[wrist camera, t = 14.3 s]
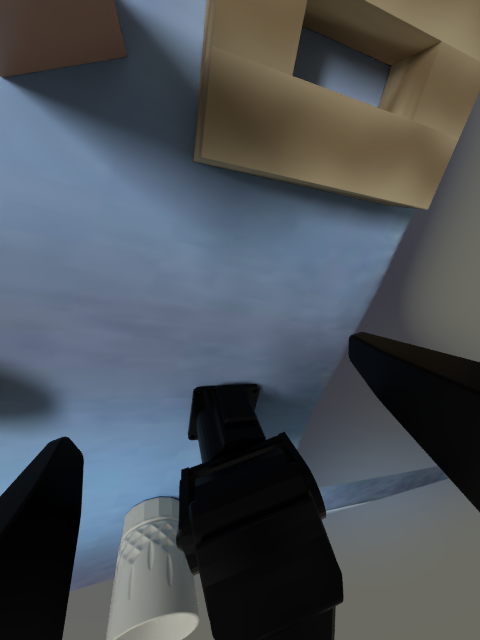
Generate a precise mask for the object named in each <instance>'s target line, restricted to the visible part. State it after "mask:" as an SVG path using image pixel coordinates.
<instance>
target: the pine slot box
mask: <svg viewBox="0 0 480 640" xmlns="http://www.w3.org/2000/svg"><path fill="white" fill-rule="evenodd" d="M302 26H304V27H306V28H308V29H311V30H313V31H315V32H317V33H319V34H322V35H324V36H326V37H328V38H331V39H333V40H335V41H337V42H340V43H342V44H344V45H346V46H348V47H351V48H353V49H355V50H357V51H360V52H362V53H364V54H366V55H368V56H371V57H373V58H375V59H377V60H380V61H382V62H384V63H386V64H389V65H391V70H390V73H389V76H388V79H387V82H386V85H385V88H384V92H383V95H382V98H381V101H380V104H379V107H378V108H377V107H374V106H372V105H369V104H366V103H364V102H361V101H358V100H356V99H353V98H350V97H348V96H345V95H342V94H340V93H337V92H334V91H332V90H329V89H326V88H324V87H321V86H318V85H316V84H313V83H310V82H308V81H305V80H302V79H300V78H297V77H294V76H292V75H293V70H294V65H295V60H296V55H297V50H298V45H299V40H300V34H301V29H302ZM479 91H480V0H207V3H206V15H205V27H204V38H203V50H202V62H201V74H200V86H199V97H198V109H197V121H196V133H195V145H194V157H193V162H198V163H202V164H207V165H211V166H215V167H220V168H224V169H229V170H233V171H238V172H242V173H247V174H251V175H256V176H260V177H264V178H269V179H273V180H278V181H282V182H287V183H291V184H296V185H300V186H305V187H309V188H313V189H318V190H322V191H327V192H331V193H336V194H340V195H345V196H349V197H353V198H358V199H362V200H367V201H371V202H376V203H380V204H385V205H389V206H398V207H407V208H417V209H427V210H428V208H429V206H430V203H431V201H432V199H433V197H434V194H435V192H436V190H437V187H438V185H439V183H440V180H441V178H442V176H443V174H444V171H445V169H446V167H447V165H448V162H449V160H450V158H451V155H452V153H453V151H454V149H455V146H456V144H457V142H458V139H459V137H460V135H461V133H462V130H463V128H464V126H465V123H466V121H467V119H468V117H469V114H470V112H471V110H472V108H473V105H474V103H475V101H476V98H477V96H478V93H479Z"/></svg>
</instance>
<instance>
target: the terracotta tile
mask: <svg viewBox="0 0 480 640" xmlns="http://www.w3.org/2000/svg"><path fill="white" fill-rule="evenodd" d="M122 57H127V54H126V50H125V45H124V41H123V37H122V32H121V28H120V23H119V19H118V15H117V10H116V6H115V2H114V0H0V76H1V77H8V76H14V75H20V74H26V73H32V72H38V71H44V70H50V69H56V68H62V67H68V66H74V65H80V64H86V63H92V62H98V61H104V60H110V59H116V58H122Z"/></svg>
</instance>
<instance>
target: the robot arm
mask: <svg viewBox="0 0 480 640" xmlns="http://www.w3.org/2000/svg"><path fill="white" fill-rule="evenodd" d="M349 358H350V361H351V362H352V364H353V365H354V366H355V368H356V369H357V370H358V372H359V373H360V375H361V376H362V377H363V379H364V380H365V382H366V383H367V384H368V386H369V387H370V388H371V390H372V391H373V393H374V394H375V395H376V396H377V398H378V399H379V400H380V401H381V402H382V404H383V405H384V406H385V407H386V408H387V409H388V410H389V411H390V413H392V414H393V416H394V417H395V418H396V419H397V420H398V422H399V423H400V424H401V425H402V426H403V427H404V428H405V429H406V430H407V432H408V433H409V434H410V435H411V436H412V437H413V438H414V439H415V440H416V442H417V443H418V444H419V445H420V446H421V447H422V448H423V449H424V451H426V453H427V454H428V455H429V456H430V457H431V458H432V459H433V461H434V462H435V463H436V464H437V465H438V466H439V467H440V468H441V470H442V471H443V472H444V473H445V474H446V475H447V476H448V477H449V478H450V480H451V481H452V482H453V483H454V484H455V485H456V486H457V487H458V488H459V490H460V491H461V492H462V493H463V494H464V495H465V496H466V497H467V499H468V500H469V501H470V502H471V503H472V504H473V505H474V506H475V507H476V509H478V511H479V512H480V362H476V361H472V360H468V359H465V358H461V357H457V356H453V355H449V354H446V353H442V352H438V351H434V350H430V349H426V348H423V347H418V346H415V345H411V344H407V343H403V342H399V341H396V340H392V339H388V338H384V337H380V336H376V335H373V334H369V333H365V332H359V333H356V334H353V335H351V336H350V337H349ZM254 389H255V390H254ZM259 391H260V389H259V387H258V385H256V384H250V385H230V386H210V387H197V388H195V389H194V391H193V397H192V405H191V413H190V421H189V429H188V438H189V440H198V441H199V447H200V453H201V459H202V464H199V465H197V466H194V467H191V468H189V467H188V468H185V469H182V470H181V480H180V486H179V488H180V489H179V522H178V528H177V534H176V545H177V548H178V549H180V550H181V551H182V552H184V554H185V557H186V560H187V563H188V566H189V569H190V571H191V573H192V574H193V575H196V574H198V573H200V577H201V582H202V587H203V592H204V597H205V602H206V606H207V612H208V616H209V619H210V624H211V630H212V635H213V637H214V639H215V640H334V633H335V606H336V605H338V604H340V603H342V602H343V582H342V573H341V570H340V568H339V565H338V563H337V561H336V558H335V555H334V552H333V550H332V547H331V544H330V542H329V539H328V536H327V533H326V531H325V528H324V525H323V523H322V519H324V518H326V510H325V506H324V502H323V499H322V496H321V493H320V491H319V488H318V486H317V483H316V481H315V479H314V477H313V475H312V473H311V471H310V469H309V467H308V466H307V464H306V463H305V461H304V460H303V458H302V457H301V455H300V454H299V452H298V451H297V450H296V448H295V447H294V445H293V444H292V442H291V441H290V439H289V438H288V436H287V435H286V433H285V432H283V433H280V434H278V436H275V437H273V438H270V439H267V440H266V438H265V436H264V433H263V431H262V429H261V426H260V424H259V422H258V419H257V416H256V414H255V411H254V410H255V407H256V403H257V399H258V395H259ZM198 392H200V393H198ZM83 465H84V459H83V455H82V453H81V451H80V450H79V449H78V448H77V446H76V445H75V444H74V443H73V442H72V441H71V439H70V438H68V437H61V438H59V439H56V440H53V441H51V442H49V443H48V444H47V445H46V446H45V447H44V449H43V450H42V451H41V452H40V453H39V454H38V455H37V456H36V457H35V459H34V460H33V461H32V462H31V463H30V464H29V465H28V466H27V467H26V469H25V470H24V471H23V472H22V473H21V474H20V475H19V476H18V477H17V479H16V480H15V481H14V482H13V483H12V484H11V485H10V486H9V487H8V488H7V490H6V491H5V492H4V493H3V494H2V495H1V496H0V640H62V636H63V630H64V624H65V617H66V610H67V604H68V598H69V591H70V585H71V578H72V572H73V565H74V559H75V552H76V546H77V539H78V533H79V526H80V518H81V506H82V486H83Z"/></svg>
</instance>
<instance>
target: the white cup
mask: <svg viewBox="0 0 480 640" xmlns="http://www.w3.org/2000/svg"><path fill="white" fill-rule="evenodd" d="M178 522H179V501H178V500H176V499H173V498H171V497H157V498H153V499H149V500H145V501H143V502H141V503H140V504H138V505H136V506H134V507H133V508H132V509H131V510H130V511H129V512H128V513H127V514H126V515H125V519H124V526H123V534H122V540H121V545H120V547H119V553H118V559H117V564H116V574H115V579H114V584H113V592H112V600H111V607H110V615H109V622H108V628H107V635H106V640H182V639H184V638H185V637H186V636H188V635H189V634H190V633H191V632H192V631H193V630H194V629H195V628H196V627H197V625H198V624H199V619H200V618H199V611H198V604H197V596H196V589H195V582H194V575H193V574H192V573H191V571H190V569H189V566H188V563H187V560H186V557H185V554H184V552H182V551H181V550H180V549H178V548H177V545H176V534H177V528H178Z"/></svg>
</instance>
